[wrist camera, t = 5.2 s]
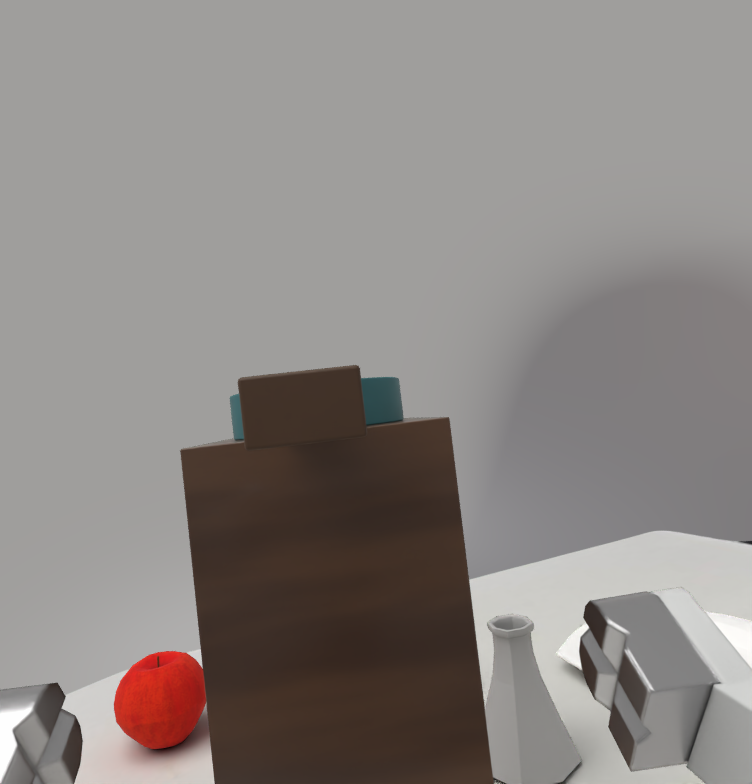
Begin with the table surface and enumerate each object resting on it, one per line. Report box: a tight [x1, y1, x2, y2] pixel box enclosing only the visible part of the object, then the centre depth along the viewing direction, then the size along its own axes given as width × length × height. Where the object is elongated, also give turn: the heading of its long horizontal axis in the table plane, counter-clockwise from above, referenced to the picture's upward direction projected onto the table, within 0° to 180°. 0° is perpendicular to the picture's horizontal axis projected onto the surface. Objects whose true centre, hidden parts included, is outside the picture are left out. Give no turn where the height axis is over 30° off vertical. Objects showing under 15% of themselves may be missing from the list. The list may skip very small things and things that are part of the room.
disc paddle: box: [230, 365, 404, 451], centre depth 21 cm, size 20×8×2 cm, turn 5°
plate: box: [556, 611, 752, 670], centre depth 52 cm, size 19×19×2 cm
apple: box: [114, 651, 206, 749], centre depth 50 cm, size 8×8×7 cm
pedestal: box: [180, 417, 494, 784], centre depth 25 cm, size 10×10×26 cm
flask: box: [485, 614, 581, 784], centre depth 42 cm, size 7×7×10 cm
